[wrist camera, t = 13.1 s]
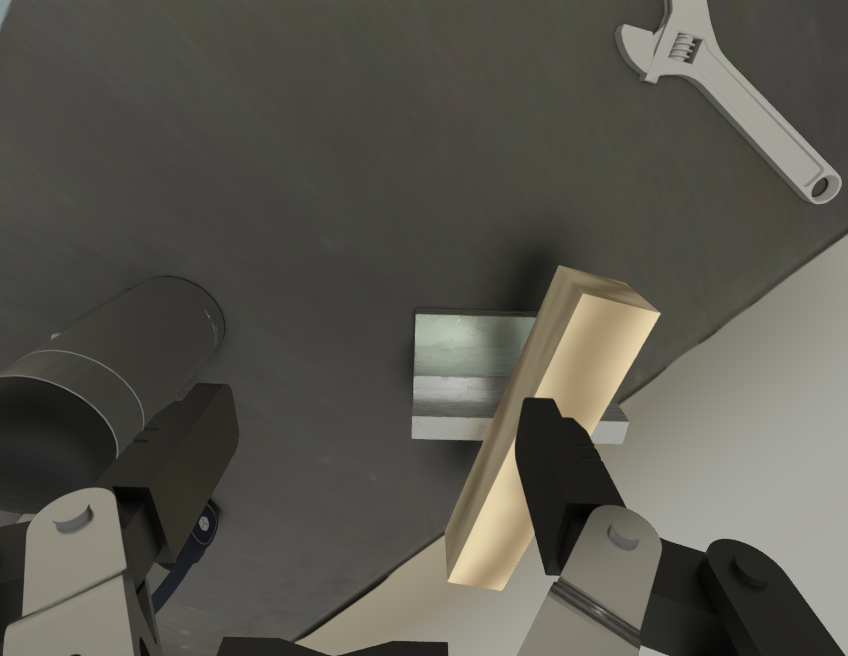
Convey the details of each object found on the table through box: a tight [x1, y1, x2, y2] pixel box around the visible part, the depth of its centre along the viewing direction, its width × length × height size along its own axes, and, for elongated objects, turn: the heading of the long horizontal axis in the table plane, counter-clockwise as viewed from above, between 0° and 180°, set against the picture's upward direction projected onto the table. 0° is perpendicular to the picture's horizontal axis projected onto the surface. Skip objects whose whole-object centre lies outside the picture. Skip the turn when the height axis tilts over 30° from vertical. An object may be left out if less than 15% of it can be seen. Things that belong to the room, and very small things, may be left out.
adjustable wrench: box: [615, 0, 842, 204], centre depth 34 cm, size 25×6×2 cm, turn 50°
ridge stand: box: [412, 308, 629, 444], centre depth 41 cm, size 18×12×11 cm, turn 88°
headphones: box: [151, 502, 218, 614], centre depth 49 cm, size 20×7×18 cm, turn 113°
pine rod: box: [445, 265, 661, 591], centre depth 33 cm, size 5×28×5 cm, turn 165°
